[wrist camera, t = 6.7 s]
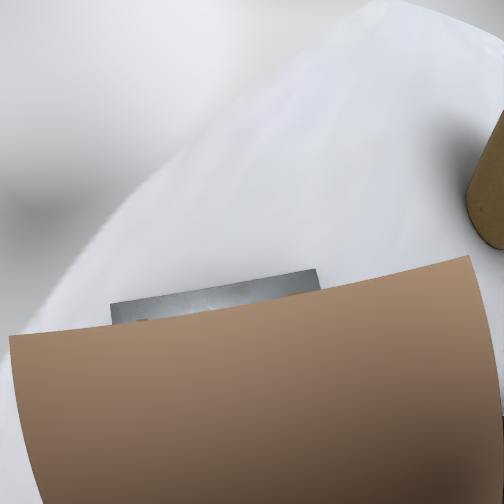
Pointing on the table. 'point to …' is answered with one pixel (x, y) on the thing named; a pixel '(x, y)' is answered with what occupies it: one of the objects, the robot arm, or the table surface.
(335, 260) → the table surface
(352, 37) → the table surface
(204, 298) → the standoff plate
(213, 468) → the walnut block
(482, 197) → the plant pot
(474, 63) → the table surface
